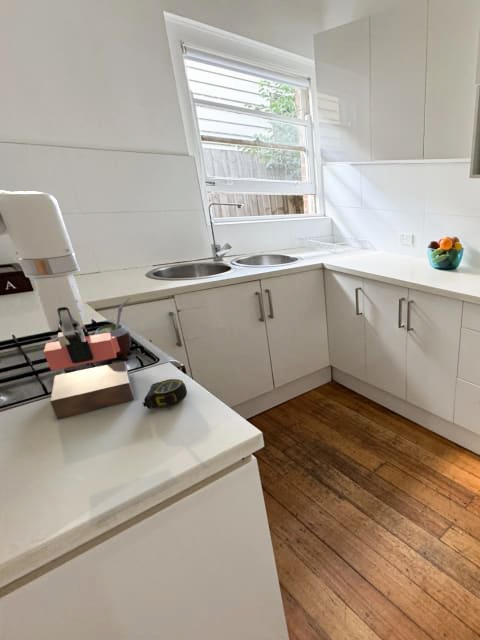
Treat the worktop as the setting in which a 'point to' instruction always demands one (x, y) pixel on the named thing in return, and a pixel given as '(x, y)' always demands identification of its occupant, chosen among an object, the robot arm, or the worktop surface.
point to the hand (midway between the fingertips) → (83, 355)
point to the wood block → (90, 389)
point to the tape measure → (165, 394)
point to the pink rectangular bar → (99, 345)
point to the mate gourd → (118, 336)
